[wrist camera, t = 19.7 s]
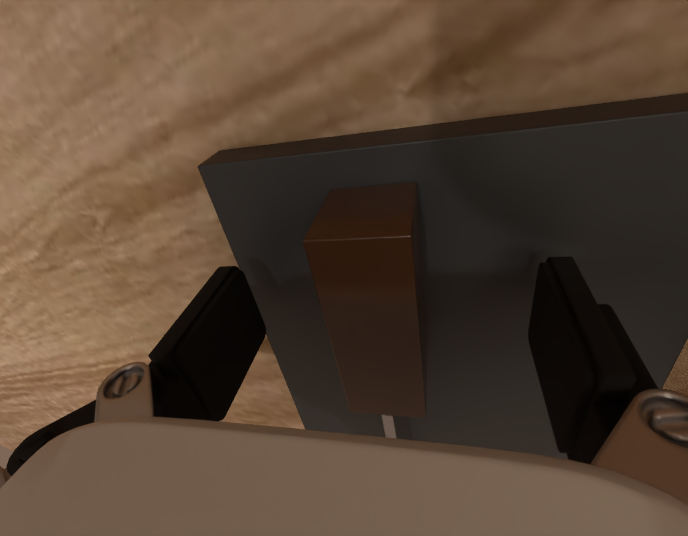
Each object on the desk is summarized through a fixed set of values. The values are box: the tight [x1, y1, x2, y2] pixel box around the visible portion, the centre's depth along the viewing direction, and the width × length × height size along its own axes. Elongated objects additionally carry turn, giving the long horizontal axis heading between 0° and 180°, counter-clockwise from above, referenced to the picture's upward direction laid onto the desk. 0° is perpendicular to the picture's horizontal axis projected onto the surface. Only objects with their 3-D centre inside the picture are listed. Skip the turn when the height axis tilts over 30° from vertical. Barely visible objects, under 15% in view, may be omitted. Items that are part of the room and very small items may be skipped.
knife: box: [303, 182, 428, 440], centre depth 14 cm, size 16×3×3 cm, turn 10°
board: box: [198, 93, 688, 459], centre depth 15 cm, size 17×15×2 cm
